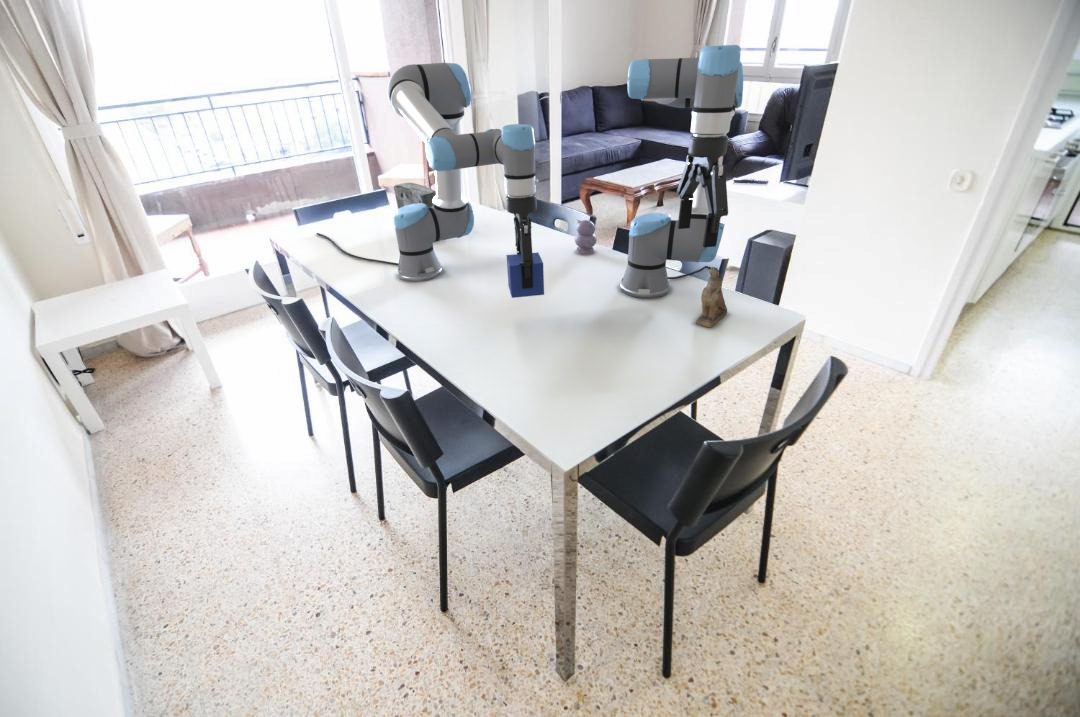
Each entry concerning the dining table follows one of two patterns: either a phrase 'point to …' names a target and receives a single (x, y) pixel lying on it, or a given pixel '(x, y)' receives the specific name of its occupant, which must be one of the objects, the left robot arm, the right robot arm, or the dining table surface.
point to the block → (516, 276)
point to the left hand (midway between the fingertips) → (525, 281)
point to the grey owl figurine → (585, 237)
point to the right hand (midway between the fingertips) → (695, 237)
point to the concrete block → (413, 194)
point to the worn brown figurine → (712, 301)
